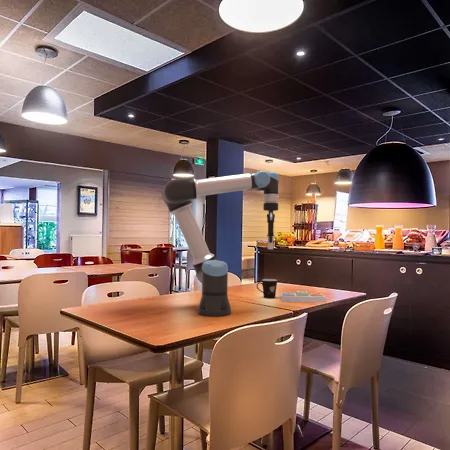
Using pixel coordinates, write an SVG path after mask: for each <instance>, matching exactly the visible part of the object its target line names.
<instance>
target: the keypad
mask: <svg viewBox="0 0 450 450" xmlns="http://www.w3.org/2000/svg"><path fill="white" fill-rule="evenodd" d="M282 293H283V292H281V293H279V294H280V296H279V298H280V301H281V303H315V302H317V303H319V302H325V303H326V296H325V295H324V294H323V293H321V294H322V295H323V296H310V293H309V296H297V295H296V293H294V292H293V293H294V295H295V296H283V295H282ZM317 303H316V304H317ZM319 304H320V303H319Z"/></svg>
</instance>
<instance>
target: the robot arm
mask: <svg viewBox="0 0 450 450" xmlns="http://www.w3.org/2000/svg"><path fill="white" fill-rule="evenodd" d="M279 182H280V181H279V173H277V172H275V171H266V170H258V171H257V172H256V171H255V172H250V173H249V172H248V173H247V172H246V173H241V174H233V175H232V174H231V175H224V176H218V177H217V176H215V177H209V178H199V179H196V178H194V177H191V178H189V177H188V178H174V179H171V180H169V181H168V182H167V183H166V184H165V185H164V187H163V188H162V192H161V197H162V200H163V202H164V203H165V204H166V207H167V208H168V211H169V213H170V214H172V215H174V217H175V219H176V222H177V225H178V227H179V229H180V231H181V234H182V236H183V238H184V240H185V243H186V245H187V247H188V249H189V251H190V254H191V257H192V259H193V262H192V267H193V269H194V272H195V275H196V279H197V281H199V282H200V283H201V297H200V300H199V304H198V307H197V314H199V315H201V316H205V317H206V316H207V317H223V316H228V315H230V314H232V306H231V303H230V300H229V296H228V287H229V286H228V279H229V278H228V275H229V274H228V272H229V268H228V263H227V262H225V261H223V260H218V259H217V258H216V256H215V254H213V253H211V251H210V250H209V247H208V245H207V243H206V239H205V238H204V235H203V233H202V230H201V229H200V226H199V224H198V221H197V219H196V217H195V214H194V212H193V210H192V205H193V202H192V201H193V200H197V199H198V198H199V197H204V196H211V195H218V194H226V193H232V192H233V193H234V192H239V191H254V192H255V191H256V192H257V191H259V192H263V194H262V195H263V197H262V198H263V199H262V201H263V207H262V208H263V211H264V212H265V211H266V212H267V214H266V219H267V220H266V221H267V234H266V237H267V250H274V237H275V234H274V225H275V224H274V223H275V218H276V214H274V212H275V211H276V212H277V211H278V210H279V203H278V202H279V199H280V196H279Z"/></svg>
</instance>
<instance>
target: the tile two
mask: <svg viewBox="0 0 450 450" xmlns="http://www.w3.org/2000/svg"><path fill="white" fill-rule="evenodd" d="M295 292H296V295H297V296H309V294H310V293H309V291H308V290H295Z"/></svg>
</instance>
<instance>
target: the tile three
mask: <svg viewBox="0 0 450 450" xmlns="http://www.w3.org/2000/svg"><path fill="white" fill-rule="evenodd" d="M309 294H310V296H323V295H324V294H323V293H321V292H319V293H318V292H317V293H316V292H315V293H314V292H310V293H309ZM322 294H323V295H322Z"/></svg>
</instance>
